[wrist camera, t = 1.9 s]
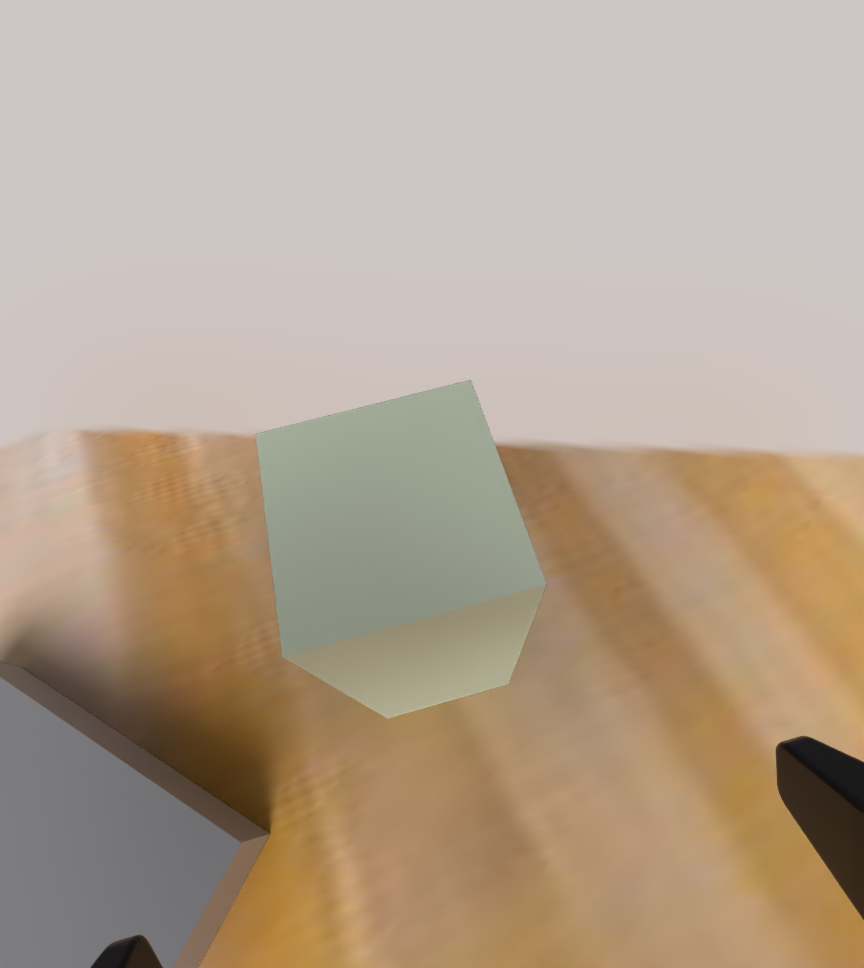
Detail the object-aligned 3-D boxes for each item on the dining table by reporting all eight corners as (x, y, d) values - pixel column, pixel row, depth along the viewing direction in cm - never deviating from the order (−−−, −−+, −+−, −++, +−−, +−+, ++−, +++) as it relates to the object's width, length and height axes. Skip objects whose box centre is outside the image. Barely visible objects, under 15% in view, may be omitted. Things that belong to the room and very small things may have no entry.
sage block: (508, 684, 20) (547, 584, 9) (387, 718, 19) (282, 657, 9) (472, 569, 22) (470, 379, 11) (363, 599, 22) (255, 433, 11)
